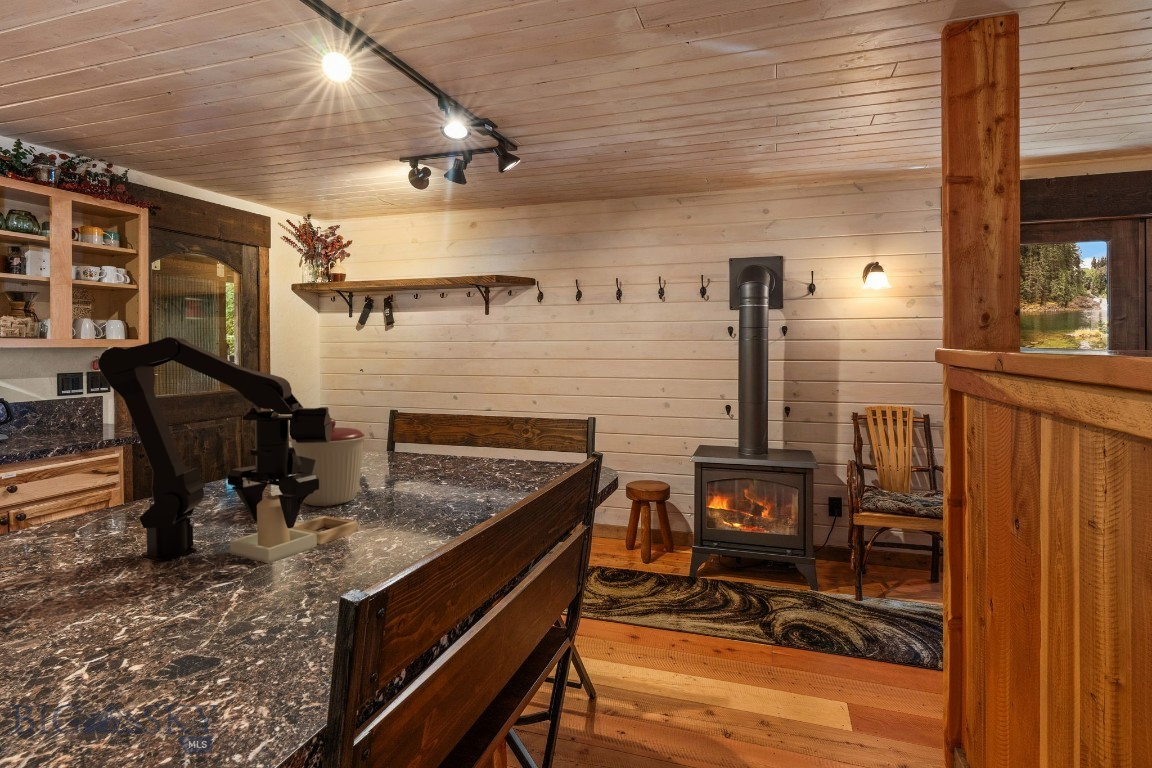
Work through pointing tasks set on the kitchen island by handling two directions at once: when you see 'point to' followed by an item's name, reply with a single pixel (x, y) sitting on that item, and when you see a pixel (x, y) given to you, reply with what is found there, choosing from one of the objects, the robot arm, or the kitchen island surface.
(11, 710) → the kitchen island surface
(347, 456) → the canister
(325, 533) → the tan shallow square box
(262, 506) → the candle
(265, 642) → the kitchen island surface
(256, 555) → the parts tray
